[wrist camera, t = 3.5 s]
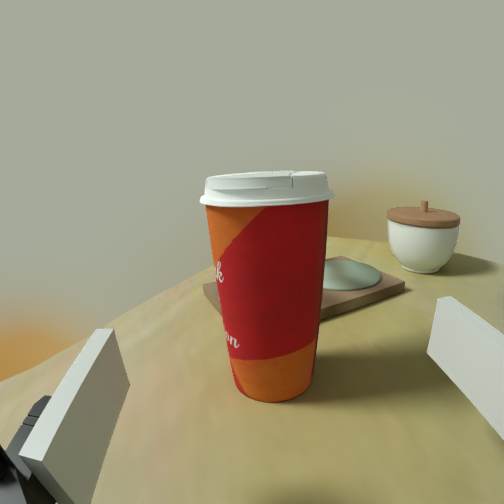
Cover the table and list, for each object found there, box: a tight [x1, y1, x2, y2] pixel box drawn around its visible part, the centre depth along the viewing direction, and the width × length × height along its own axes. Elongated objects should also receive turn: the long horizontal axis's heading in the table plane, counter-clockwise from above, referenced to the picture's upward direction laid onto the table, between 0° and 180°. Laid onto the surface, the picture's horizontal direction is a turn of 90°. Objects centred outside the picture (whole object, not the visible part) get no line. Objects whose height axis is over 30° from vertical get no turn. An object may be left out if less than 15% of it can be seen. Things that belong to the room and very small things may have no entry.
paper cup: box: [200, 171, 334, 402], centre depth 20 cm, size 8×8×14 cm
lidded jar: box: [387, 200, 460, 274], centre depth 40 cm, size 11×11×9 cm
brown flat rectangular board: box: [203, 256, 405, 320], centre depth 36 cm, size 20×12×2 cm, turn 114°
